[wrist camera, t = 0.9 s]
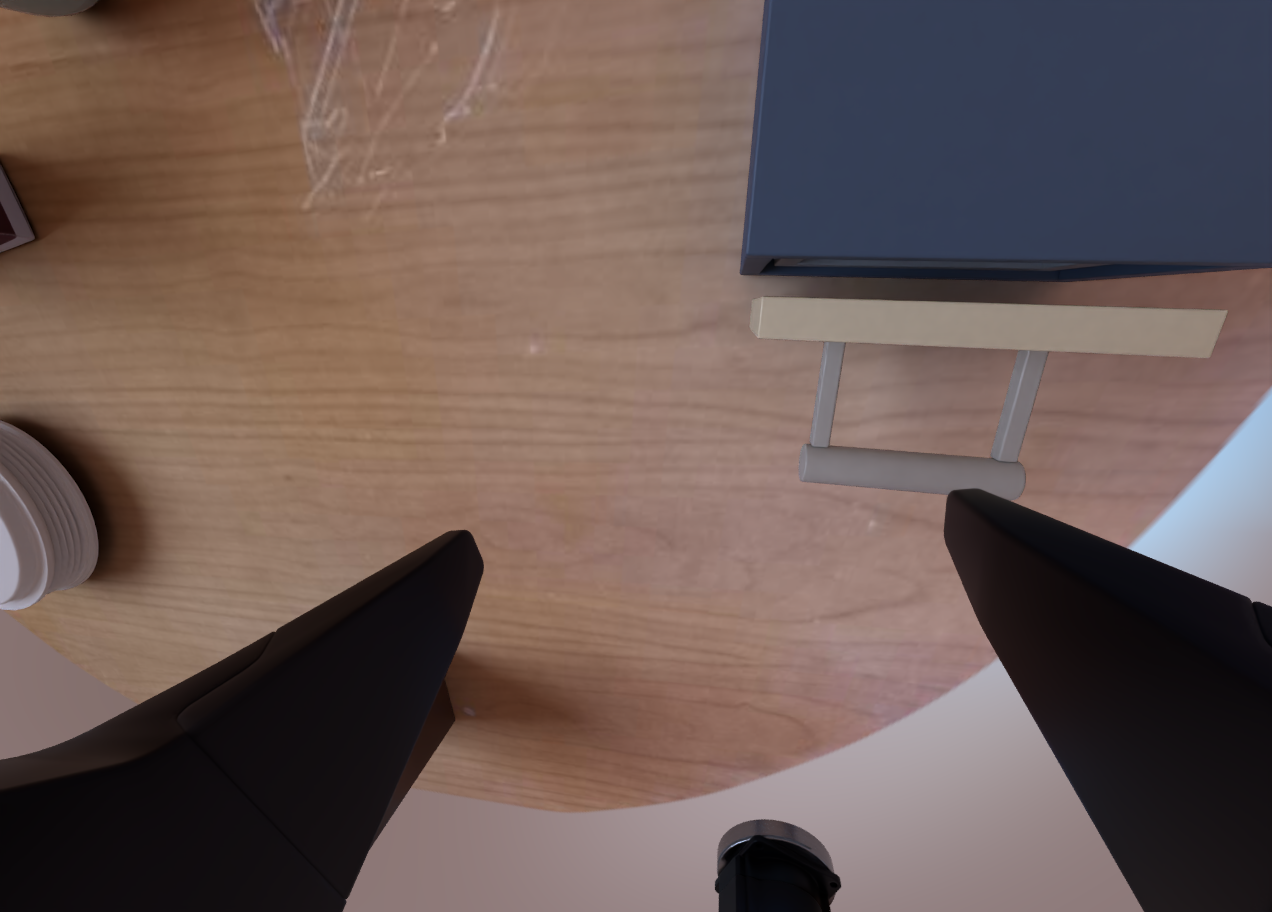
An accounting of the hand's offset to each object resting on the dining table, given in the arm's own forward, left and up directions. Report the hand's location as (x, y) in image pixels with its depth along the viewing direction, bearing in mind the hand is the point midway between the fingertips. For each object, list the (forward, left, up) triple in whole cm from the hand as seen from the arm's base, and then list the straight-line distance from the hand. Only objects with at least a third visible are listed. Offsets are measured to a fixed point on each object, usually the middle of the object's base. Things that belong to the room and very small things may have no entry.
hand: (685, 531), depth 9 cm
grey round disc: (+39, +27, -15) cm, 49 cm away
